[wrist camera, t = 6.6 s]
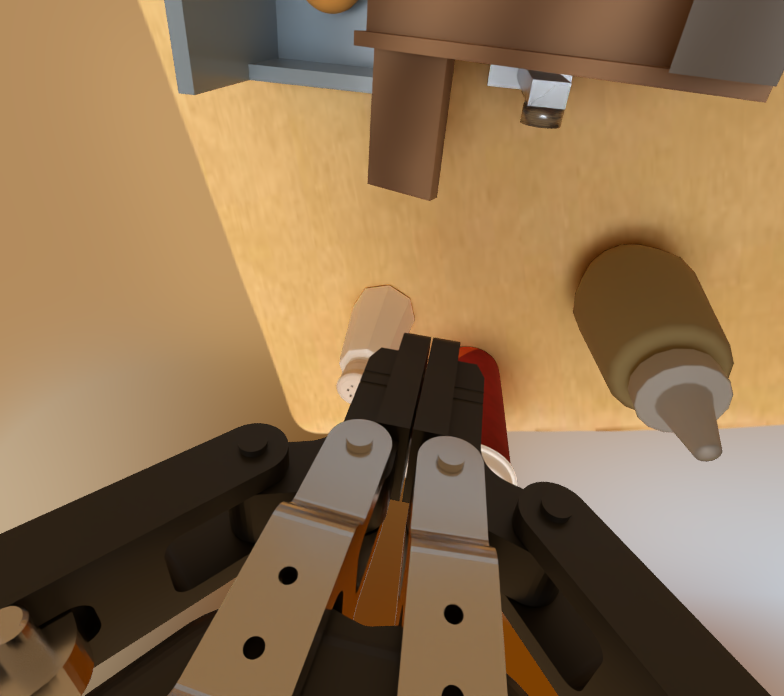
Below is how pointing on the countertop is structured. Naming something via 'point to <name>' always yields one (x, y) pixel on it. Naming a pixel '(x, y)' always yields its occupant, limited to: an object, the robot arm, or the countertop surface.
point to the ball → (332, 5)
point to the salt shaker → (372, 333)
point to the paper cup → (491, 415)
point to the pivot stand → (535, 93)
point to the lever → (550, 59)
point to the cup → (267, 44)
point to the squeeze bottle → (657, 343)
